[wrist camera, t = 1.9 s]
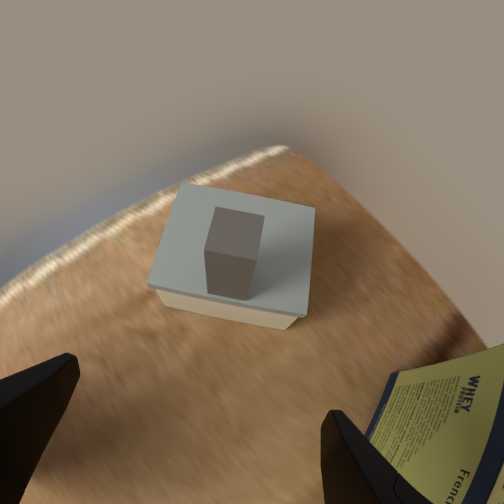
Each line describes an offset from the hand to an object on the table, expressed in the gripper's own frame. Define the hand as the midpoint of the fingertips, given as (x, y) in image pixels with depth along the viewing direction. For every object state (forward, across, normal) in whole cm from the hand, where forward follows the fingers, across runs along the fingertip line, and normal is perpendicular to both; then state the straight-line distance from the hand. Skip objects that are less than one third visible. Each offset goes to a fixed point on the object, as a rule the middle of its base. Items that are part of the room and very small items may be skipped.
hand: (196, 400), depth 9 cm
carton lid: (+13, 0, -1) cm, 13 cm away
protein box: (+6, -18, +14) cm, 23 cm away
